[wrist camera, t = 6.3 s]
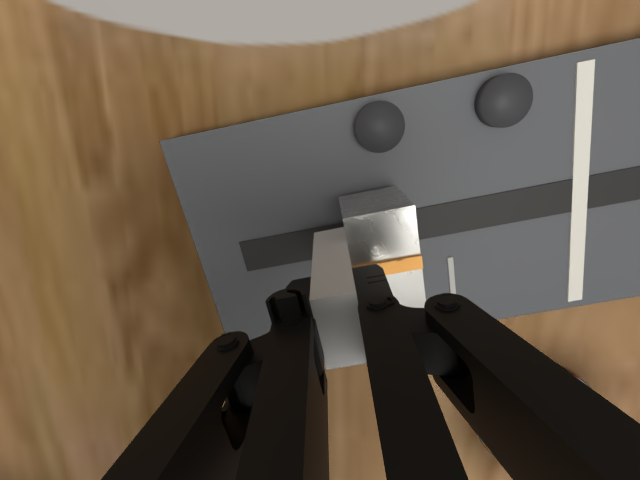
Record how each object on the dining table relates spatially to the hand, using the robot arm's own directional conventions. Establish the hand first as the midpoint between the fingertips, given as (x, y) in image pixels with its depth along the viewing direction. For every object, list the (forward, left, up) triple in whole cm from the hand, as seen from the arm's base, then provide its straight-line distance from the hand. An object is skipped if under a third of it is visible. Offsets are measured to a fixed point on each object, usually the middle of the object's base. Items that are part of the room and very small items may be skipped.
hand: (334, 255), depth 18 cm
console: (+7, 0, -5) cm, 9 cm away
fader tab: (+2, 0, -2) cm, 3 cm away
